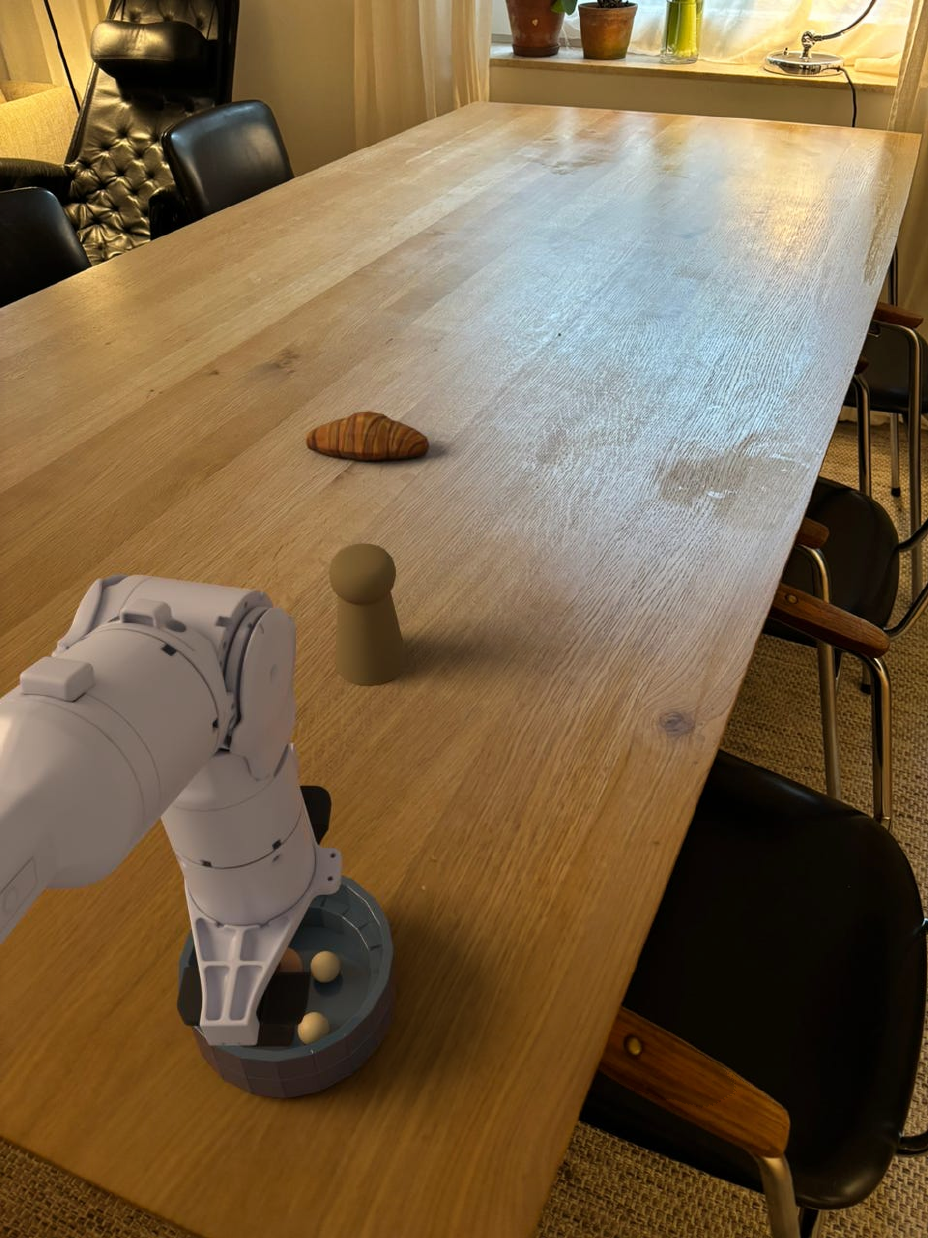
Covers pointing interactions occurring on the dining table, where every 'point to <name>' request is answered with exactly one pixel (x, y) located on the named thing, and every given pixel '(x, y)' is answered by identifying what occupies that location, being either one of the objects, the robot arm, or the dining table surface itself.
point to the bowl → (321, 1000)
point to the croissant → (367, 438)
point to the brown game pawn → (366, 616)
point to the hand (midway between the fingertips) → (282, 965)
